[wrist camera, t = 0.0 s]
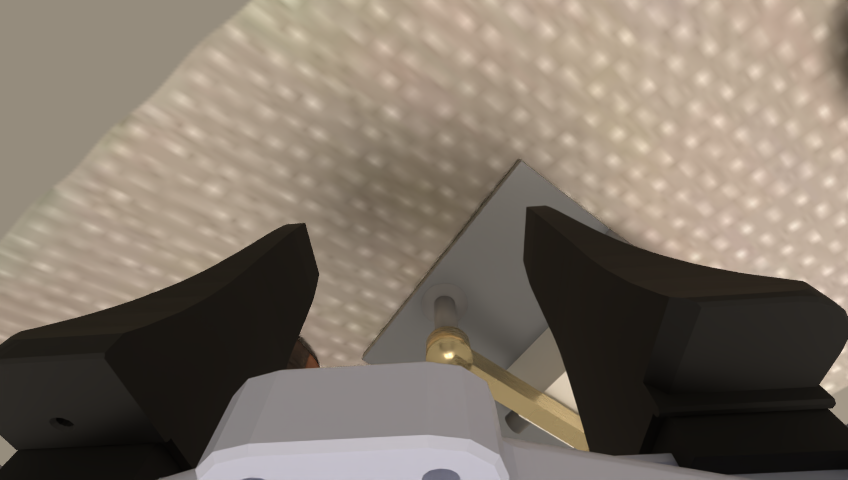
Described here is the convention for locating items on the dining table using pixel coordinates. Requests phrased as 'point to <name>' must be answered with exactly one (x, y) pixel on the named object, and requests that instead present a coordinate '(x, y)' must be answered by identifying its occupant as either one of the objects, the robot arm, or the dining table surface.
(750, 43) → the dining table surface
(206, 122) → the dining table surface
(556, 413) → the brass ball-knob lever
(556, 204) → the socket
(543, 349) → the plug
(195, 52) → the dining table surface
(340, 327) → the dining table surface
